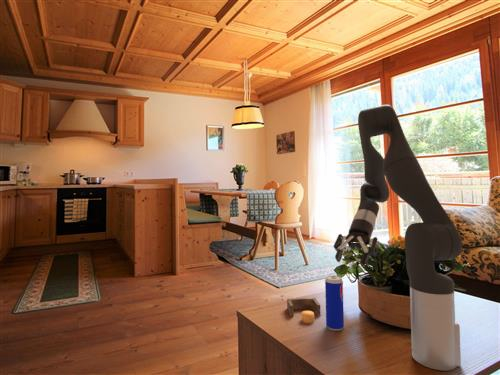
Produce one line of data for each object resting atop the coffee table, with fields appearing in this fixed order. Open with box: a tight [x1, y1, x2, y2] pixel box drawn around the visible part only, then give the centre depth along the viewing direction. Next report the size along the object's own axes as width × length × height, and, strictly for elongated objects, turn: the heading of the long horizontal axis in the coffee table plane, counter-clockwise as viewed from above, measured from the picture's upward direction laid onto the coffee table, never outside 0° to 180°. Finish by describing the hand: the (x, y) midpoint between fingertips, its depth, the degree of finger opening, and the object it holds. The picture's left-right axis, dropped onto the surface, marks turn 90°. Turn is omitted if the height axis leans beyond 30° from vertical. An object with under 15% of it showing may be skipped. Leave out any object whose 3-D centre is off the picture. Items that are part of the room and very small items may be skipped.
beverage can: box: [324, 275, 345, 332], centre depth 91 cm, size 5×5×15 cm
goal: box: [286, 297, 321, 318], centre depth 103 cm, size 10×7×4 cm
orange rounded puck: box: [301, 310, 315, 324], centre depth 96 cm, size 4×4×2 cm
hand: (349, 262), depth 99 cm, fingers open, 8 cm apart
